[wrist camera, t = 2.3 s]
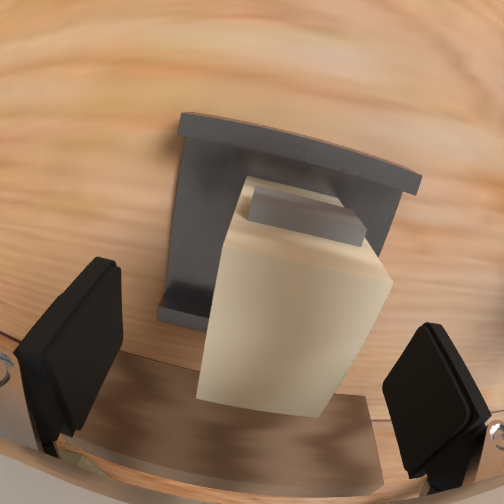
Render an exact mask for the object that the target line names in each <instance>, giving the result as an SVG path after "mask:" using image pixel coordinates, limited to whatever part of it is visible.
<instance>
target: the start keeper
mask: <svg viewBox="0 0 504 504" xmlns="http://www.w3.org/2000/svg"><path fill="white" fill-rule="evenodd" d="M177 135H180V136H186V137H185V143H184V148H183V154H182V160H181V167H180V173H179V180H178V186H177V193H176V201H175V208H174V216H173V224H172V232H171V241H170V250H169V260H168V270H167V281H166V292H165V294H164V296H163V297H162V299H161V301H160V303H159V305H158V315H157V320H159V321H163V322H166V323H170V324H174V325H178V326H182V327H187V328H191V329H195V330H199V331H204V332H207V329H208V323H209V317H210V312H211V306H212V301H213V295H214V290H215V284H216V279H217V274H218V268H219V263H220V258H221V253H222V248H223V244H224V241H225V238H226V235H227V232H228V229H229V226H230V223H231V220H232V217H233V214H234V212H235V209H236V206H237V203H238V200H239V197H240V194H241V191H242V189H243V186H244V183H245V180H246V177H247V176H251V177H255V178H260V179H264V180H268V181H273V182H277V183H281V184H285V185H290V186H294V187H298V188H302V189H306V190H310V191H313V192H317V193H321V194H325V195H329V196H332V197H336V198H338V199H339V200H340V202H341V203H342V205H343V206H344V207H345V208H348V209H352V210H353V211H354V213H355V214H356V215H357V217H358V218H359V219H360V221H361V222H362V223H363V225H364V226H365V227H366V229H367V232H366V235H365V238H366V240H367V241H368V243H369V244H370V246H371V248H372V249H373V251H374V252H375V254H376V255H377V257H379V254H380V252H381V249H382V247H383V244H384V242H385V239H386V237H387V234H388V231H389V229H390V226H391V223H392V221H393V218H394V215H395V212H396V210H397V207H398V204H399V201H400V198H401V195H402V192H403V191H404V192H407V193H410V194H413V195H415V196H416V194H417V191H418V188H419V185H420V182H421V179H422V175H420V174H418V173H416V172H414V171H412V170H410V169H408V168H406V167H403V166H401V165H398V164H395V163H392V162H389V161H387V160H384V159H381V158H378V157H375V156H372V155H369V154H366V153H363V152H360V151H357V150H353V149H350V148H347V147H344V146H340V145H337V144H334V143H330V142H327V141H323V140H319V139H316V138H312V137H308V136H305V135H301V134H297V133H293V132H289V131H285V130H281V129H276V128H272V127H268V126H263V125H259V124H254V123H249V122H244V121H239V120H234V119H229V118H224V117H218V116H212V115H207V114H200V113H194V112H184V113H181V118H180V123H179V129H178V134H177Z"/></svg>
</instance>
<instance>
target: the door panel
mask: <svg viewBox="0 0 504 504" xmlns="http://www.w3.org/2000/svg"><path fill="white" fill-rule="evenodd" d="M199 376H200V372H198V371H194V370H190V369H185V368H181V367H177V366H173V365H170V364H166V363H162V362H158V361H155V360H151V359H147V358H144V357H140V356H137V355H134V354H130V353H127V352H124V351H120V350H119V352H118V354H117V356H116V358H115V360H114V362H113V364H112V366H111V368H110V370H109V372H108V374H107V376H106V378H105V380H104V382H103V384H102V386H101V389H100V391H99V393H98V395H97V397H96V399H95V401H94V404H93V406H92V408H91V410H90V412H89V415H88V417H87V419H86V421H85V424H84V426H83V428H82V429H81V430H80V431H78V430H76V431H75V433H74V435H73V437H72V438H71V437H69V436H67V435H64V434H62V435H63V437H64V439H65V441H66V443H67V444H68V445H71V446H73V447H75V448H78V449H80V450H82V451H85V452H87V453H90V454H92V455H95V456H97V457H100V458H103V459H105V460H108V461H111V462H114V463H116V464H119V465H122V466H125V467H128V468H132V469H135V470H138V471H141V472H145V473H148V474H152V475H155V476H159V477H163V478H167V479H171V480H175V481H179V482H183V483H188V484H193V485H198V486H203V487H208V488H214V489H220V490H226V491H233V492H241V493H249V494H258V495H269V496H284V497H352V496H367V495H370V494H372V493H373V492H375V491H376V490H377V489H379V488H380V487H381V486H383V485H384V481H383V475H382V470H381V465H380V460H379V455H378V450H377V446H376V441H375V436H374V432H373V427H372V423H371V419H370V414H369V410H368V406H367V402H366V398H365V396H354V395H342V394H333V396H332V398H331V399H330V401H329V402H328V404H327V405H326V407H325V408H324V410H323V412H322V413H321V415H320V416H319V418H316V417H306V416H296V415H288V414H280V413H273V412H266V411H259V410H253V409H247V408H241V407H235V406H230V405H225V404H219V403H215V402H210V401H205V400H201V399H196V395H197V388H198V382H199Z"/></svg>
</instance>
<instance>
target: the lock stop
mask: <svg viewBox="0 0 504 504" xmlns="http://www.w3.org/2000/svg"><path fill="white" fill-rule="evenodd" d="M366 232H367V229H366V227H365V226H364V225H363V223H362V222H361V221H360V219H359V218H358V217H357V215H356V214H355V213H354V211H353V210H352V209H348V208H345V207H344V206H343V205H342V203H341V202H340V200H339V199H338V198H336V197H332V196H329V195H325V194H321V193H317V192H313V191H310V190H306V189H302V188H298V187H294V186H290V185H285V184H281V183H277V182H273V181H268V180H264V179H260V178H255V177H251V176H247V177H246V180H245V183H244V186H243V189H242V191H241V194H240V197H239V200H238V203H237V206H236V209H235V212H234V214H233V217H232V220H231V223H230V226H229V229H228V232H227V235H226V238H225V241H224V244H223V248H222V253H221V258H220V263H219V268H218V274H217V279H216V284H215V290H214V295H213V301H212V306H211V312H210V317H209V323H208V329H207V335H206V340H205V346H204V352H203V358H202V364H201V370H200V376H199V382H198V388H197V395H196V399H201V400H205V401H210V402H215V403H219V404H225V405H230V406H235V407H241V408H247V409H253V410H259V411H266V412H273V413H280V414H288V415H296V416H306V417H316V418H319V416H320V415H321V413H322V412H323V410H324V408H325V407H326V405H327V404H328V402H329V401H330V399H331V398H332V396H333V394H334V393H335V391H336V390H337V388H338V386H339V385H340V383H341V382H342V380H343V378H344V377H345V375H346V373H347V371H348V370H349V368H350V366H351V365H352V363H353V361H354V359H355V358H356V356H357V354H358V352H359V351H360V349H361V347H362V345H363V343H364V341H365V340H366V338H367V336H368V334H369V332H370V330H371V328H372V326H373V325H374V323H375V321H376V319H377V317H378V315H379V313H380V311H381V309H382V307H383V305H384V303H385V301H386V299H387V296H388V294H389V292H390V290H391V288H392V286H393V284H394V283H393V281H392V279H391V278H390V276H389V274H388V273H387V271H386V270H385V268H384V266H383V265H382V263H381V262H380V260H379V258H378V257H377V255H376V254H375V252H374V251H373V249H372V248H371V246H370V244H369V243H368V241H367V240H366V238H365V235H366Z"/></svg>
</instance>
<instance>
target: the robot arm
mask: <svg viewBox="0 0 504 504" xmlns="http://www.w3.org/2000/svg"><path fill="white" fill-rule="evenodd" d="M122 342H123V321H122V293H121V268H120V267H117V266H116V262H115V261H113V260H109V259H105V258H101V257H96V258H94V259H93V260H92V262H91V263H90V264H89V265H88V266H87V267H86V268H85V269H84V270H83V271H82V272H81V273H80V275H79V276H78V277H77V278H76V279H75V280H74V281H73V282H72V283H71V285H70V286H69V287H68V288H67V289H66V290H65V291H64V293H62V294H61V295H59V296H58V297H57V299H56V300H55V301H54V302H53V303H52V304H51V306H50V307H49V308H48V309H47V310H46V312H45V313H44V314H43V315H42V316H41V318H40V319H39V320H38V321H37V322H36V324H35V325H34V326H33V327H32V329H31V330H30V331H29V332H28V334H27V335H26V336H25V338H24V339H23V340H22V341H21V343H20V344H19V345H18V347H17V348H16V349H15V351H14V352H13V353H12V352H10V351H9V350H7V349H5V348H1V347H0V504H220V503H213V502H207V501H201V500H195V499H190V498H184V497H179V496H175V495H170V494H166V493H162V492H157V491H153V490H150V489H146V488H142V487H139V486H135V485H131V484H128V483H125V482H121V481H118V480H115V479H112V478H108V477H105V476H102V475H100V474H97V473H94V472H91V471H88V470H86V469H83V468H80V467H78V466H75V465H73V464H70V463H68V462H65V461H63V460H62V459H61V457H60V454H59V451H58V448H57V445H56V443H55V441H56V440H57V439H58V437H59V435H60V433H62V434H64V435H67V436H69V437H71V438H72V437H73V435H74V433H75V431H76V430H78V431H80V430H81V429H82V428H83V426H84V424H85V421H86V419H87V417H88V415H89V412H90V410H91V408H92V406H93V404H94V401H95V399H96V397H97V395H98V393H99V391H100V389H101V386H102V384H103V382H104V380H105V378H106V376H107V374H108V372H109V370H110V368H111V366H112V364H113V362H114V360H115V358H116V356H117V354H118V352H119V350H120V348H121V345H122ZM382 390H383V394H384V397H385V400H386V404H387V407H388V410H389V414H390V417H391V421H392V424H393V428H394V431H395V435H396V439H397V442H398V446H399V450H400V454H401V458H402V462H403V466H404V469H405V470H406V471H408V475H409V479H413V478H419V477H423V476H424V475H425V474H427V476H428V478H427V480H426V482H425V484H424V487H423V489H422V491H421V493H420V495H419V497H417V498H412V499H407V500H401V501H395V502H389V503H382V504H504V422H502V421H500V420H494V421H491V422H490V423H489V424H488V425H487V426H485V424H484V423H485V422H486V421H487V420H488V419H489V418H490V417H491V416H492V415H491V413H490V411H489V409H488V407H487V405H486V403H485V401H484V399H483V397H482V395H481V393H480V391H479V389H478V387H477V385H476V383H475V381H474V380H473V378H472V376H471V374H470V372H469V370H468V369H467V367H466V365H465V363H464V361H463V360H462V358H461V356H460V354H459V353H458V351H457V349H456V348H455V346H454V344H453V343H452V341H451V339H450V338H449V336H448V334H447V333H446V331H445V329H444V328H443V326H442V325H440V324H435V323H428V322H427V323H424V324H423V325H422V326H420V327H419V328H418V329H417V331H416V332H415V334H414V336H413V337H412V339H411V341H410V342H409V344H408V345H407V347H406V348H405V350H404V352H403V353H402V355H401V356H400V358H399V359H398V361H397V362H396V364H395V365H394V367H393V368H392V370H391V371H390V373H389V374H388V376H387V377H386V379H385V380H384V382H383V386H382Z"/></svg>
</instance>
